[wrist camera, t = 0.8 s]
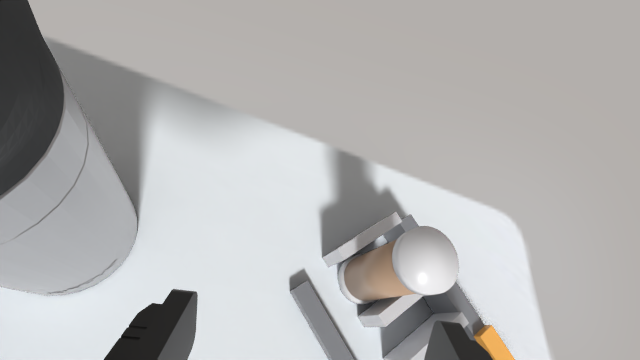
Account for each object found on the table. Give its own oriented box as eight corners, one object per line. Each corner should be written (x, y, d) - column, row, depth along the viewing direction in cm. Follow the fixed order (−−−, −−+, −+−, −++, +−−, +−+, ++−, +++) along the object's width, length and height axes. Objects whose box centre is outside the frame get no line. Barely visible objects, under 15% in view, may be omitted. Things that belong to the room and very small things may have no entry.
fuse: (329, 271, 31) (387, 246, 22) (364, 247, 33) (432, 214, 24) (354, 314, 31) (426, 308, 21) (389, 287, 33) (470, 271, 23)
